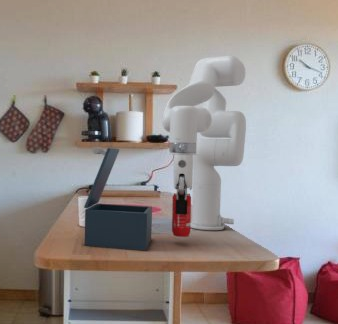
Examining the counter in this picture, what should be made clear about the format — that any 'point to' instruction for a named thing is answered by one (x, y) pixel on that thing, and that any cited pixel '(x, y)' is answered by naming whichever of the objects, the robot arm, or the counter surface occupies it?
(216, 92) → the robot arm
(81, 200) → the white cup
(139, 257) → the counter surface
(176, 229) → the beverage can
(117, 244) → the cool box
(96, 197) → the lid
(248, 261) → the counter surface
